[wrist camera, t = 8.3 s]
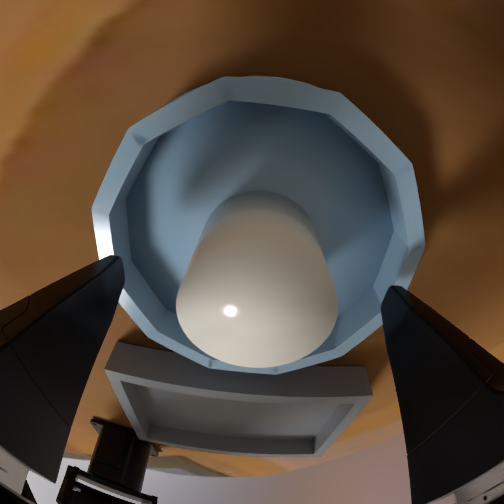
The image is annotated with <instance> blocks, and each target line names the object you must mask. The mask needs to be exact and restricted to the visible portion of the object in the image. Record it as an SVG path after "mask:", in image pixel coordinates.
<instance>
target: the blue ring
mask: <svg viewBox="0 0 504 504" xmlns="http://www.w3.org/2000/svg"><path fill="white" fill-rule="evenodd" d="M250 191H267V192H273V193H277V194H280V195H283V196H285V197H287V198H289V199H291V200H292V201H294V202H295V203H297V204H298V205H299V206H300V207H301V208H302V209H303V210H304V211H305V212H306V213H307V215H308V216H309V218H310V219H311V221H312V224H313V226H314V228H315V231H316V234H317V237H318V240H319V243H320V246H321V249H322V252H323V255H324V258H325V261H326V264H327V267H328V270H329V273H330V276H331V279H332V282H333V285H334V289H335V292H336V296H337V300H338V315H337V320H336V323H335V326H334V328H333V330H332V332H331V333H330V335H329V336H328V338H327V339H326V340H325V341H324V342H323V343H322V344H321V345H320V346H319V347H318V348H317V349H316V350H314V351H313V352H311V353H310V354H308V355H307V356H305V357H303V358H301V359H299V360H296V361H294V362H291V363H288V364H285V365H280V366H275V367H267V368H251V367H242V366H237V365H232V364H229V363H226V362H223V361H220V360H218V359H215V358H213V357H212V356H210V355H208V354H206V353H205V352H203V351H202V350H200V349H199V348H198V347H197V346H196V345H194V344H193V343H192V342H191V340H190V339H189V338H188V337H187V336H186V334H185V333H184V331H183V330H182V328H181V326H180V324H179V321H178V317H177V312H176V299H177V294H178V291H179V288H180V286H181V283H182V280H183V278H184V275H185V273H186V270H187V268H188V265H189V263H190V260H191V257H192V255H193V253H194V250H195V248H196V245H197V243H198V240H199V238H200V235H201V233H202V231H203V228H204V226H205V223H206V221H207V219H208V218H209V216H210V214H211V213H212V212H213V211H214V210H215V208H216V207H218V206H219V205H220V204H221V203H222V202H224V201H225V200H227V199H229V198H231V197H233V196H235V195H238V194H241V193H245V192H250ZM92 216H93V223H94V230H95V237H96V243H97V249H98V255H99V260H100V259H102V258H104V257H106V256H108V255H116V256H120V257H121V258H122V260H123V266H124V273H125V284H124V287H123V290H122V292H121V295H120V298H119V301H118V302H119V303H120V304H121V306H122V307H123V308H124V309H125V311H126V312H127V313H128V314H129V315H130V317H131V318H132V319H133V320H134V322H135V323H136V324H137V325H138V326H139V327H140V329H141V330H142V331H143V332H144V333H145V334H146V336H147V337H148V338H150V339H152V340H154V341H156V342H158V343H159V344H161V345H163V346H165V347H167V348H169V349H171V350H173V351H175V352H177V353H179V354H181V355H183V356H185V357H187V358H189V359H191V360H193V361H195V362H197V363H199V364H201V365H203V366H205V367H207V368H212V369H220V370H228V371H238V372H248V373H260V374H274V375H277V374H281V373H285V372H289V371H293V370H297V369H301V368H304V367H308V366H311V365H315V364H318V363H322V362H325V361H329V360H332V359H335V358H338V357H342V356H343V355H344V354H346V353H347V352H348V351H350V350H351V349H352V348H354V347H355V346H356V345H358V344H359V343H360V342H362V341H363V340H364V339H365V338H367V337H368V336H369V335H370V334H372V333H373V332H374V331H375V330H377V329H378V328H379V327H380V326H381V325H383V322H382V316H381V303H382V301H383V299H384V296H385V294H386V292H387V290H388V288H389V286H391V285H397V286H402V287H403V288H405V289H406V290H407V289H408V287H409V285H410V282H411V280H412V278H413V276H414V273H415V271H416V269H417V266H418V264H419V262H420V259H421V257H422V254H423V252H424V249H425V247H426V246H425V237H424V229H423V221H422V214H421V207H420V201H419V195H418V189H417V184H416V178H415V173H414V169H413V164H412V163H411V162H410V161H409V160H408V158H407V157H406V156H405V155H404V154H403V153H402V152H401V151H400V150H399V149H398V148H397V146H396V145H395V144H394V143H393V142H392V141H391V140H390V139H389V138H388V137H387V136H386V135H385V134H384V133H383V132H382V131H381V130H380V129H379V128H378V127H377V126H376V125H375V124H374V123H373V122H372V121H371V120H370V119H369V118H368V117H367V116H366V115H365V114H364V113H363V112H361V111H360V110H359V109H358V108H357V107H356V106H355V105H354V104H353V103H352V102H350V101H349V100H348V99H347V98H346V97H345V96H344V95H342V94H341V93H340V92H336V91H331V90H326V89H322V88H318V87H316V86H313V85H311V84H308V83H305V82H301V81H296V80H292V79H287V78H282V77H270V76H246V77H230V76H224V77H222V78H219V79H217V80H215V81H213V82H211V83H209V84H206V85H203V86H201V87H198V88H196V89H194V90H191V91H189V92H187V93H185V94H183V95H181V96H179V97H178V98H176V99H175V100H173V101H171V102H170V103H168V104H167V105H165V106H164V107H162V108H161V109H159V110H157V111H156V112H154V113H152V114H151V115H149V116H147V117H146V118H144V119H142V120H141V121H139V122H138V123H136V124H134V125H133V126H131V127H130V128H129V129H128V131H127V133H126V134H125V136H124V138H123V140H122V142H121V144H120V146H119V148H118V150H117V152H116V154H115V156H114V158H113V160H112V162H111V165H110V167H109V169H108V171H107V173H106V175H105V178H104V180H103V182H102V185H101V187H100V189H99V192H98V194H97V196H96V199H95V201H94V204H93V206H92Z"/></svg>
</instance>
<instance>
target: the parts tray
mask: <svg viewBox="0 0 504 504" xmlns="http://www.w3.org/2000/svg"><path fill="white" fill-rule="evenodd" d="M104 370H105V372H106V374H107V377H108V379H109V381H110V383H111V385H112V388H113V390H114V392H115V394H116V396H117V398H118V400H119V402H120V404H121V406H122V408H123V410H124V412H125V414H126V416H127V418H128V420H129V422H130V423H131V425H132V427H133V429H134V431H135V432H136V434H137V436H138V438H139V439H141V440H145V441H149V442H153V443H158V444H163V445H167V446H173V447H178V448H183V449H189V450H196V451H203V452H210V453H218V454H228V455H239V456H254V457H321V456H322V455H323V454H324V452H325V451H326V450H327V449H328V448H329V447H330V446H331V445H332V444H333V443H334V442H335V441H336V440H337V438H338V437H339V436H340V435H341V434H342V433H343V432H344V430H345V429H346V428H347V427H348V426H349V425H350V423H351V422H352V421H353V420H354V419H355V417H356V416H357V415H358V414H359V413H360V411H361V410H362V409H363V408H364V406H365V405H366V404H367V402H368V401H369V400H370V399H371V397H372V396H373V393H372V390H371V386H370V382H369V378H368V375H367V371H366V368H365V366H356V367H336V366H308V367H304V368H301V369H297V370H293V371H289V372H285V373H281V374H277V375H274V374H260V373H248V372H238V371H228V370H220V369H212V368H207V367H205V366H203V365H201V364H199V363H197V362H195V361H193V360H191V359H189V358H187V357H185V356H183V355H181V354H179V353H175V352H169V351H163V350H157V349H152V348H146V347H141V346H136V345H132V344H127V343H122V342H118V341H117V342H116V344H115V346H114V349H113V351H112V353H111V355H110V357H109V360H108V362H107V364H106V366H105V369H104Z"/></svg>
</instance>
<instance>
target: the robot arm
mask: <svg viewBox="0 0 504 504" xmlns="http://www.w3.org/2000/svg"><path fill="white" fill-rule="evenodd" d="M124 284H125V273H124V266H123V260H122V258H121V257H120V256H116V255H108V256H106V257H104V258H102V259H100V260H98V261H96V262H94V263H92V264H90V265H88V266H86V267H84V268H82V269H80V270H77V271H75V272H73V273H71V274H69V275H67V276H65V277H64V278H62V279H60V280H58V281H56V282H54V283H52V284H50V285H48V286H46V287H44V288H42V289H40V290H38V291H37V292H35V293H33V294H31V296H30V295H29V296H27V297H25V298H23V299H22V300H20V301H18V302H16V303H14V304H12V305H10V306H8V307H6V308H4V309H2V310H0V504H37V503H36V500H35V498H34V496H33V494H32V492H31V490H30V487H29V485H28V483H27V480H26V477H27V474H28V471H29V470H30V471H32V472H34V473H36V474H38V475H39V476H41V477H43V478H45V479H47V480H49V481H51V482H53V483H56V480H57V477H58V473H59V469H60V465H61V461H62V457H63V454H64V450H65V447H66V443H67V440H68V437H69V433H70V430H71V426H72V423H73V420H74V417H75V414H76V411H77V408H78V405H79V402H80V400H81V397H82V394H83V391H84V389H85V386H86V383H87V380H88V378H89V375H90V373H91V370H92V367H93V365H94V362H95V360H96V357H97V355H98V353H99V350H100V348H101V345H102V343H103V341H104V338H105V336H106V334H107V331H108V329H109V327H110V324H111V322H112V319H113V317H114V314H115V311H116V307H117V304H118V301H119V298H120V295H121V292H122V290H123V287H124ZM381 316H382V322H383V328H384V335H385V342H386V347H387V352H388V356H389V360H390V364H391V369H392V373H393V378H394V382H395V387H396V392H397V397H398V402H399V407H400V412H401V418H402V424H403V430H404V436H405V443H406V450H407V454H408V455H407V459H408V468H409V477H410V488H411V500H412V504H430V503H432V502H435V501H438V500H440V499H443V498H445V497H448V496H450V495H454V500H455V504H504V363H502V362H501V361H500V360H498V359H497V358H496V357H494V356H493V355H491V354H490V353H489V352H487V351H486V350H485V349H484V348H482V347H481V346H480V345H478V344H477V343H476V342H475V341H473V340H472V339H470V338H469V337H468V336H467V335H466V334H465V333H463V332H462V331H461V330H459V329H458V328H457V327H456V326H454V325H453V324H452V323H450V322H449V321H448V320H447V319H445V318H444V317H443V316H441V315H440V314H439V313H437V312H436V311H435V310H433V309H432V308H431V307H429V306H428V305H427V304H425V303H424V302H422V301H421V300H420V299H418V298H417V297H416V296H414V295H413V294H412V293H410V292H409V291H407V290H406V289H405V288H403V287H402V286H397V285H391V286H389V288H388V290H387V292H386V294H385V296H384V299H383V301H382V303H381ZM90 423H91V424H92V426H93V427H94V428H95V430H96V431H97V432H98V433H99V436H98V439H97V442H96V445H95V448H94V452H93V455H92V458H91V461H90V465H89V468H88V471H87V472H85V471H82V470H80V469H79V468H78V467H76V466H74V467H72V466H69V465H68V468H67V471H66V474H65V477H64V480H63V483H62V485H61V488H60V490H59V493H58V496H57V499H56V502H57V503H58V504H135V503H131V502H128V501H125V500H122V499H119V498H116V497H114V496H111V495H108V494H106V493H103V492H101V491H98V490H96V489H93V488H91V487H88V486H86V485H84V484H82V483H79V482H77V479H78V478H79V479H81V480H83V481H85V482H87V483H90V484H92V485H95V486H97V487H99V488H102V489H104V490H107V491H110V492H112V493H115V494H118V495H121V496H124V497H127V498H130V499H133V500H136V501H140V502H142V504H157V497H155V496H150V495H146V494H143V493H141V490H142V485H143V481H144V475H145V471H146V467H147V462H148V458H149V456H154V457H158V452H157V450H156V448H155V446H154V444H153V442H149V441H145V440H141V439H139V438H138V436H137V434H136V432H135V431H133V430H129V429H125V428H121V427H118V426H115V425H111V424H108V423H105V422H101V421H98V420H95V419H91V421H90ZM74 490H77V491H74Z"/></svg>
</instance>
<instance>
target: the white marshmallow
mask: <svg viewBox="0 0 504 504" xmlns="http://www.w3.org/2000/svg"><path fill="white" fill-rule="evenodd" d="M176 312H177V317H178V321H179V324H180V326H181V328H182V330H183V331H184V333H185V334H186V336H187V337H188V338H189V339H190V340H191V342H192V343H193V344H194V345H196V346H197V347H198V348H199V349H200V350H202V351H203V352H205V353H206V354H208V355H210V356H212V357H213V358H215V359H218V360H220V361H223V362H226V363H229V364H232V365H237V366H242V367H251V368H267V367H275V366H280V365H285V364H288V363H291V362H294V361H296V360H299V359H301V358H303V357H305V356H307V355H308V354H310V353H311V352H313V351H314V350H316V349H317V348H318V347H319V346H320V345H321V344H322V343H323V342H324V341H325V340H326V339H327V338H328V336H329V335H330V333H331V332H332V330H333V328H334V326H335V323H336V320H337V315H338V300H337V296H336V292H335V289H334V285H333V282H332V279H331V276H330V273H329V270H328V267H327V264H326V261H325V258H324V255H323V252H322V249H321V246H320V243H319V240H318V237H317V234H316V231H315V228H314V226H313V224H312V221H311V219H310V218H309V216H308V215H307V213H306V212H305V211H304V210H303V209H302V208H301V207H300V206H299V205H298V204H297V203H295V202H294V201H292V200H291V199H289V198H287V197H285V196H283V195H280V194H277V193H273V192H267V191H250V192H245V193H241V194H238V195H235V196H233V197H231V198H229V199H227V200H225V201H224V202H222V203H221V204H220V205H219V206H218V207H216V208H215V210H214V211H213V212H212V213H211V214H210V216H209V218H208V219H207V221H206V223H205V226H204V228H203V231H202V233H201V235H200V238H199V240H198V243H197V245H196V248H195V250H194V253H193V255H192V257H191V260H190V263H189V265H188V268H187V270H186V273H185V275H184V278H183V280H182V283H181V286H180V288H179V291H178V294H177V299H176Z"/></svg>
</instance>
